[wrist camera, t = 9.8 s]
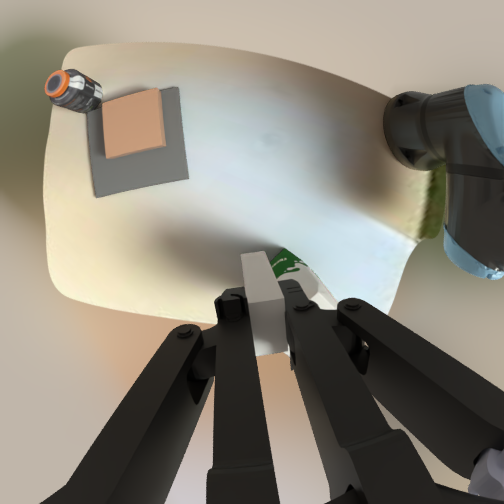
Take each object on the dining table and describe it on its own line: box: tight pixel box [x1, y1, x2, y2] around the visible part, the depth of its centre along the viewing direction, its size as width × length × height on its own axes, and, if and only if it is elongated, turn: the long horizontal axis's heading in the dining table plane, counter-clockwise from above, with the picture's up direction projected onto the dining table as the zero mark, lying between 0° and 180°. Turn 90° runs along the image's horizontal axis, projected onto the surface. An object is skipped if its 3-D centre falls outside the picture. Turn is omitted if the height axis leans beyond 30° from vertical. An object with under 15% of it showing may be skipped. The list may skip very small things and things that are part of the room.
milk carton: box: [270, 248, 339, 357], centre depth 37 cm, size 9×9×20 cm
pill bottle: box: [45, 69, 103, 113], centre depth 29 cm, size 6×6×11 cm
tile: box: [102, 88, 166, 159], centre depth 35 cm, size 9×3×9 cm
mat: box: [87, 87, 189, 198], centre depth 37 cm, size 16×15×1 cm
